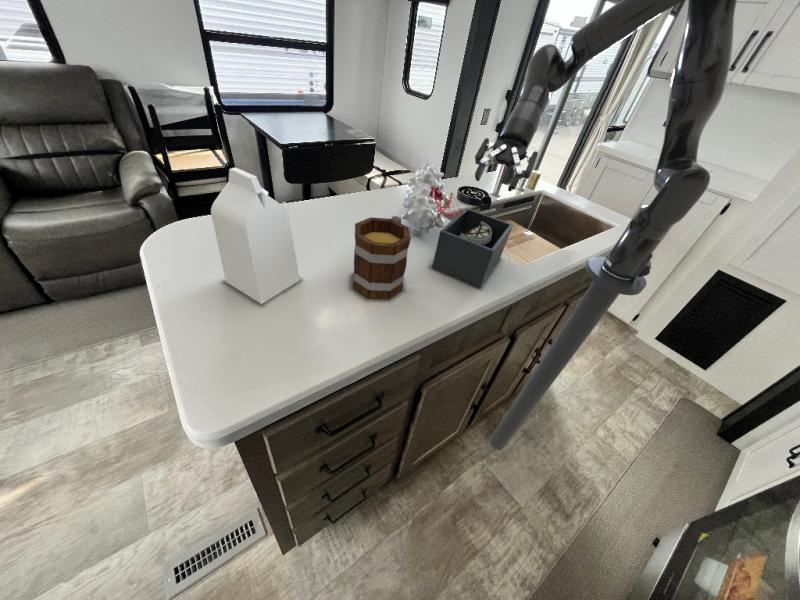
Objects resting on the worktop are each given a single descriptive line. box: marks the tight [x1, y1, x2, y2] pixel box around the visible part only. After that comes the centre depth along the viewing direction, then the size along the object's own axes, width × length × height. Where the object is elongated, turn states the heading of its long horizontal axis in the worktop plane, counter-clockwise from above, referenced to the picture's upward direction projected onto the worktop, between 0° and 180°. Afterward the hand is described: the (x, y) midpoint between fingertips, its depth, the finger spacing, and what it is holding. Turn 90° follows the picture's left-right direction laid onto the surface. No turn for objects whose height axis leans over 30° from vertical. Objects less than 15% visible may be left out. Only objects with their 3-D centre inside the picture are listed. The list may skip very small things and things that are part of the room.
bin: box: [431, 207, 514, 289], centre depth 91 cm, size 15×19×12 cm
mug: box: [352, 215, 412, 300], centre depth 80 cm, size 20×14×15 cm
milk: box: [210, 167, 301, 305], centre depth 69 cm, size 12×12×26 cm
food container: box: [459, 221, 492, 246], centre depth 91 cm, size 12×6×10 cm, turn 140°
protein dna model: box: [400, 162, 463, 236], centre depth 106 cm, size 20×18×25 cm
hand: (493, 184), depth 80 cm, fingers open, 8 cm apart
